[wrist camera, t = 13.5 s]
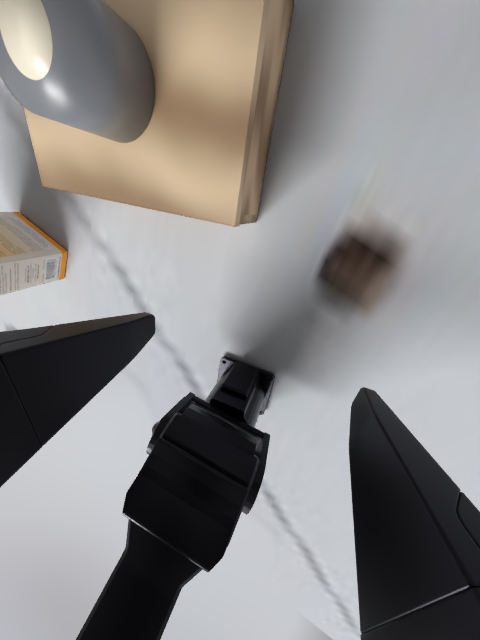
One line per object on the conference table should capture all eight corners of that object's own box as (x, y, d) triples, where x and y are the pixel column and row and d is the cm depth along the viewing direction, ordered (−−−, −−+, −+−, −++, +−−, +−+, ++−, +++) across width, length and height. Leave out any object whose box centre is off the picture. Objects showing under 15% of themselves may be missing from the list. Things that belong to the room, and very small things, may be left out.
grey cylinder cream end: (156, 147, 13) (85, 119, 10) (90, 139, 15) (4, 112, 11) (153, 16, 11) (55, -93, 7) (74, 20, 12) (-47, -71, 8)
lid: (239, 226, 14) (234, 226, 14) (53, 187, 18) (42, 186, 18) (284, -101, 9) (280, -127, 8) (-2, -58, 13) (-21, -73, 12)
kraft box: (256, 222, 19) (234, 225, 15) (107, 192, 22) (55, 187, 18) (294, 1, 13) (277, -100, 9) (85, 10, 17) (2, -58, 12)
